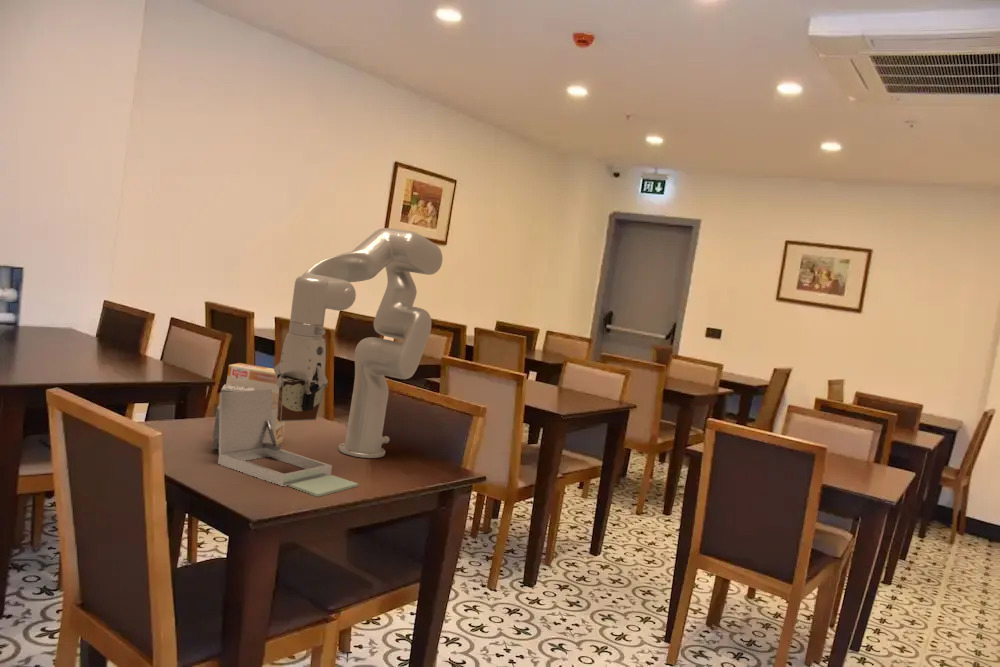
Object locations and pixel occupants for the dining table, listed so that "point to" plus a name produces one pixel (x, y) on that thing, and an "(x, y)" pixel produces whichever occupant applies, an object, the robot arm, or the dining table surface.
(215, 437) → the circuit breaker
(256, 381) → the coffeecake box
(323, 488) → the mat
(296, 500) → the dining table surface
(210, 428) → the dining table surface
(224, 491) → the dining table surface
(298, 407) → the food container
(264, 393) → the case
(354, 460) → the dining table surface
